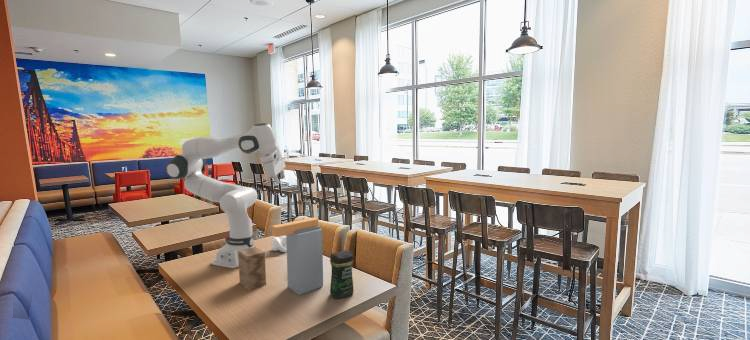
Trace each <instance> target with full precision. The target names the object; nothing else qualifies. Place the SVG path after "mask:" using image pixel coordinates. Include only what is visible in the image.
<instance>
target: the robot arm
mask: <svg viewBox="0 0 750 340" xmlns="http://www.w3.org/2000/svg"><path fill="white" fill-rule="evenodd" d="M236 149H240V151H241V152H242V153H244V154H247V155H249V154H253V153H256V152H259V151H260V154H261V157H260V159H259V160H260V163H261V164H262V167H263V169H264V171H265V174H266V176H267V177H268V178H269V179H271V178H272V179H273V181H274V183H275V184H276V185H279V184H280V183H281V181H280V179H281V180H283V179H285V178H286V176H285V170H284V169H286V162H285V160H284V157H283V155H282V152H281V149H280V146H279V145H278V143H277V139H276V135H275V132H274V130H273V128H272V126H271V125H270V123H268V122H260V123H255V124H253V126H252V127H251V129H249V130H248V131H247V132H246V133H244V134H241V135H233V136H201V137H200V136H199V137H194V138H191V139H188V140H186V141H184V142H183V143H182V146H181V152H182V153H181V154H176V155H175V156H174V157H173V158H171V159H170V160H169V161H168V162H167V163H166V164H165V172H166V174H167V176H169V178H171V179H174V180H182V179H184V181H183V182H184V184H183V185H184V188H185V190H187V191H188V192H190V193H191V194H193V195H195V196H198V197H200V198H202V199H205V200H208V201H211V202H214V203H219V207H220V210H222V211H223V212H224V213H225V214H226V217H227V220H228V226H229V227H228V228H229V229H228V230H229V236H227V237H226V238H225V239H224V240H225V242H226V243H225V244H224V245H223V246H221V247H220V248H219V249H218V250H217V252H216V256H215V258H214V259H212V261H211V263H210V264H211V265H213V266H218V267H224V268H229V269H236V268H239V257H238V251H239V250H244V249H248V248H252V247H254V233H253V221H252V220H253V219H251V218H250V217H249V215H248V211H247V208H249V207H251V206H253V205H254V204H255V203H256V202H257V201H258V192H257V191H256V189H254V187H250V186H243V185H240V184H234V183H228V182H225V181H221V180H218V179H215V178H212V177H210V176H207V175H205V174H204V173H205V172H206V166H207V159H212V158H216V157H219V156H221V155H223V154H225V153H228V152H230V151H233V150H236ZM279 174H280V175H279ZM278 175H279V177H280V179H279V178H278Z"/></svg>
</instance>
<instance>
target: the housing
mask: <svg viewBox="0 0 750 340" xmlns="http://www.w3.org/2000/svg"><path fill="white" fill-rule="evenodd" d="M285 236H286V242H287V251H286V270H287V271H286V272H287V287H288V288H289V290H292V291H293V292H295V293H296V294H297V295H302V294H305V293H309V292H311V291H313V290H316V289H318V288H322V287H324V256H323V254H324V252H323V251H324V250H323V228H321V226H320V225H318V226H317V227H312V228H308V229H303V230H298V231H295V233H294V234H289V235H285Z"/></svg>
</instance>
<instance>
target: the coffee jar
mask: <svg viewBox="0 0 750 340" xmlns="http://www.w3.org/2000/svg"><path fill="white" fill-rule="evenodd" d="M329 260H330V261H329V262H330V265H331V274H330V275H331V277H330V286H329V288H330V289H329V294H330V295H331V296H332V297H333V298H336V299H342V298H346V297H348V296H352V295H353V294H354V290H355V289H354V281H353V279H354V278H353V263H354V253H353V252H352V251H350V250H348V249H345V250H342V251H338V252H337V251H336V252H333V253H331V254H330V259H329Z"/></svg>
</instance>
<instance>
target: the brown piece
mask: <svg viewBox="0 0 750 340" xmlns="http://www.w3.org/2000/svg"><path fill="white" fill-rule="evenodd" d="M238 257H239V267H238V273H239V275H238V276H239V277H238V278H239V283H240V284H241V285H242V286H243V287H245V288H246V289H247V290H248V291H250V290H253V289H256V288H258V287H259V288H260V287H261V286H265V285H267V275H266V274H267V273H266V251H263V250H262V249H260V248H258V247H257V246H253V247H252V248H248V249H244V250H239V251H238Z"/></svg>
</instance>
